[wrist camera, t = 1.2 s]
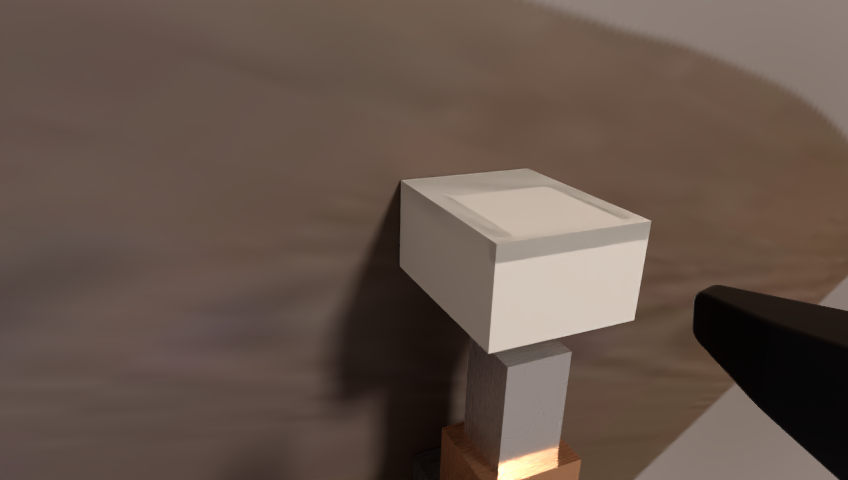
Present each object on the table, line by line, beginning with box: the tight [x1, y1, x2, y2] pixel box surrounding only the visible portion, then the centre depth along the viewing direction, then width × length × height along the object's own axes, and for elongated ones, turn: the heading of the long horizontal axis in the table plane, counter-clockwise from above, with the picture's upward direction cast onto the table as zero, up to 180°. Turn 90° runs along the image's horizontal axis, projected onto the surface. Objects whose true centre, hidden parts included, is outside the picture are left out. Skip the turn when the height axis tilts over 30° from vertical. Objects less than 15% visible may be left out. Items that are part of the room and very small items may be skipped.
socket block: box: [400, 168, 651, 354], centre depth 21 cm, size 4×6×7 cm, turn 89°
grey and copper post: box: [440, 336, 581, 480], centre depth 24 cm, size 12×4×4 cm, turn 178°
